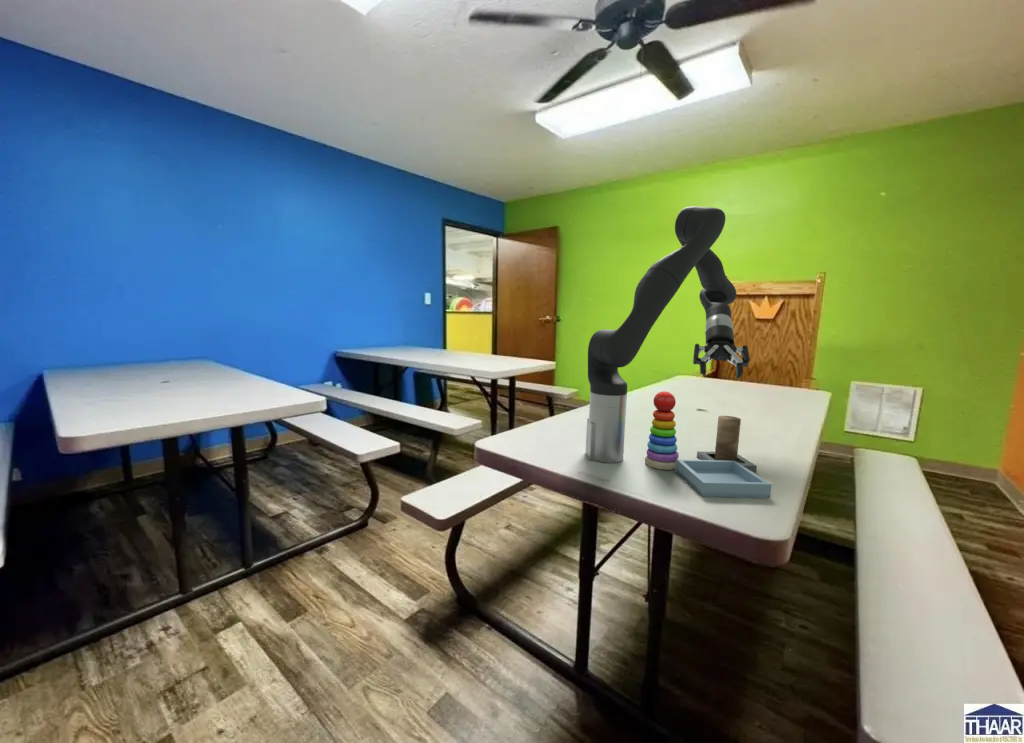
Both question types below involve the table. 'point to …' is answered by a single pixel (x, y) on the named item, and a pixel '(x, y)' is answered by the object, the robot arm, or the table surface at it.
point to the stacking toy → (662, 434)
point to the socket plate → (740, 460)
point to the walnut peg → (727, 438)
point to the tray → (722, 479)
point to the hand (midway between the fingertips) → (721, 375)
